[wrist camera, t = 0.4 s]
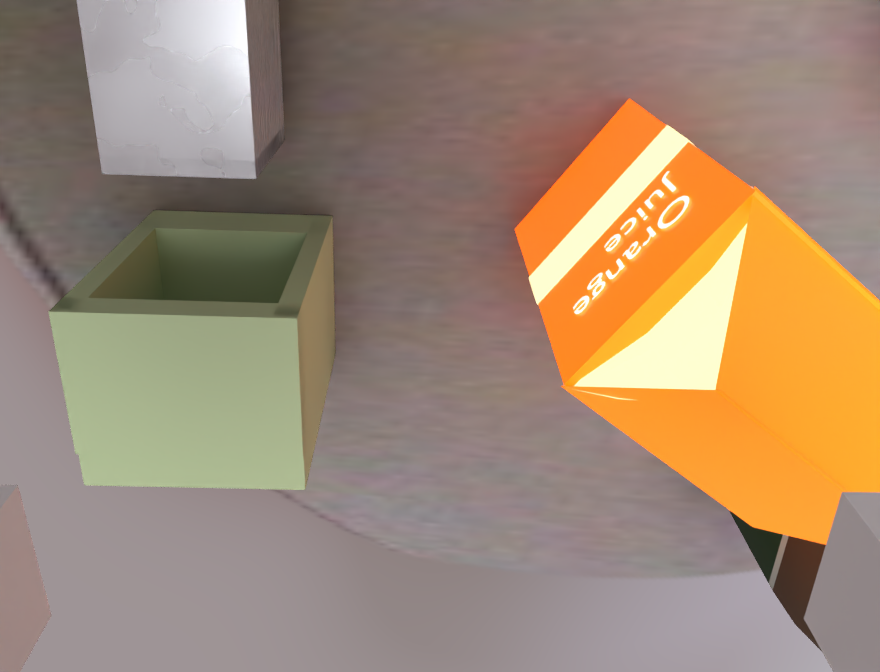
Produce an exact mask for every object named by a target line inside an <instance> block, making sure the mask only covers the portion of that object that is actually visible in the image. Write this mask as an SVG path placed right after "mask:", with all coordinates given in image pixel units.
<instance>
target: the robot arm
mask: <svg viewBox="0 0 880 672" xmlns="http://www.w3.org/2000/svg"><path fill="white" fill-rule="evenodd" d="M50 617H51V612H50V608H49V604H48V600H47V596H46V592H45V589H44V585H43V581H42V577H41V573H40V569H39V565H38V562H37V557H36V554H35V550H34V546H33V542H32V538H31V534H30V530H29V527H28V523H27V519H26V515H25V511H24V507H23V503H22V499H21V496H20V492H19V488H18V485H0V672H20V671H21V669H22V667H23V666H24V664H25V662H26V660H27V659H28V657H29V655H30V653H31V651H32V650H33V648H34V646H35V644H36V642H37V641H38V639H39V637H40V635H41V633H42V632H43V630H44V628H45V626H46V624H47V623H48V621H49V619H50ZM804 620H805V622H806V624H807V625H808V627H809V629H810V631H811V632H812V634H813V636H814V638H815V640H816V641H817V643H818V645H819V647H820V649H821V650H822V652H823V654H824V656H825V658H826V659H827V661H828V663H829V665H830V666H831V668H832V670H833V672H880V492H842V493H841V497H840V500H839V503H838V506H837V510H836V513H835V516H834V520H833V523H832V526H831V530H830V533H829V536H828V540H827V543H826V546H825V550H824V553H823V556H822V560H821V563H820V566H819V570H818V573H817V576H816V580H815V583H814V586H813V590H812V593H811V596H810V600H809V603H808V606H807V610H806V613H805V616H804Z"/></svg>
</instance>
